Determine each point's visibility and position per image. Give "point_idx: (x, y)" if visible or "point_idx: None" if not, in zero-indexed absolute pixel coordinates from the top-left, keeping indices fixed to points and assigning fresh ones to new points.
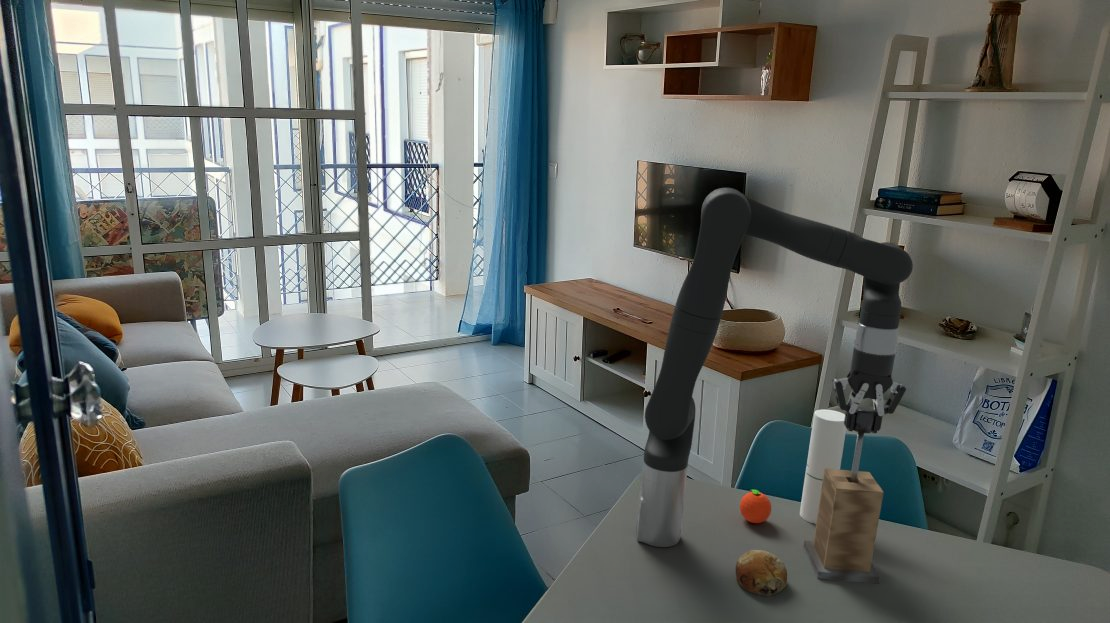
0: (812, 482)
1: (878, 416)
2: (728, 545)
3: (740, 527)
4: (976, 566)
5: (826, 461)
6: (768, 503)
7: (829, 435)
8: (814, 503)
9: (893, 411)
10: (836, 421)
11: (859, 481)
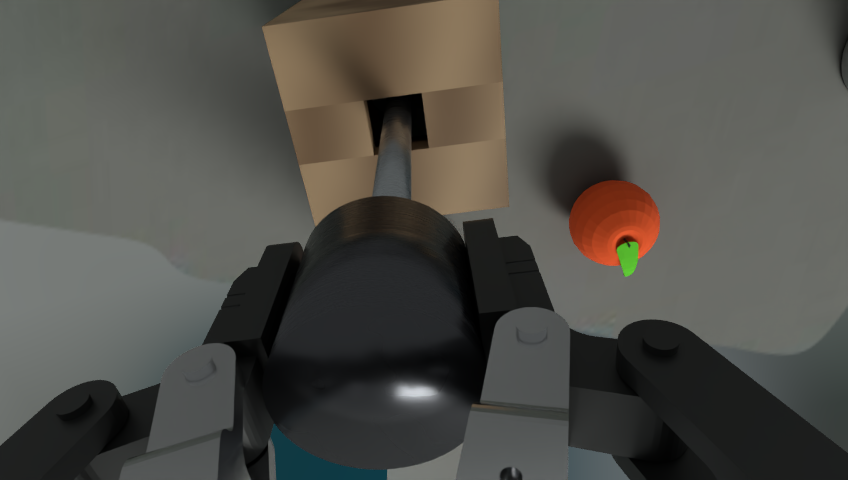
0: None
1: (235, 339)
2: (704, 53)
3: (644, 162)
4: (46, 144)
5: None
6: (591, 221)
7: None
8: None
9: (50, 409)
10: None
11: (368, 125)
